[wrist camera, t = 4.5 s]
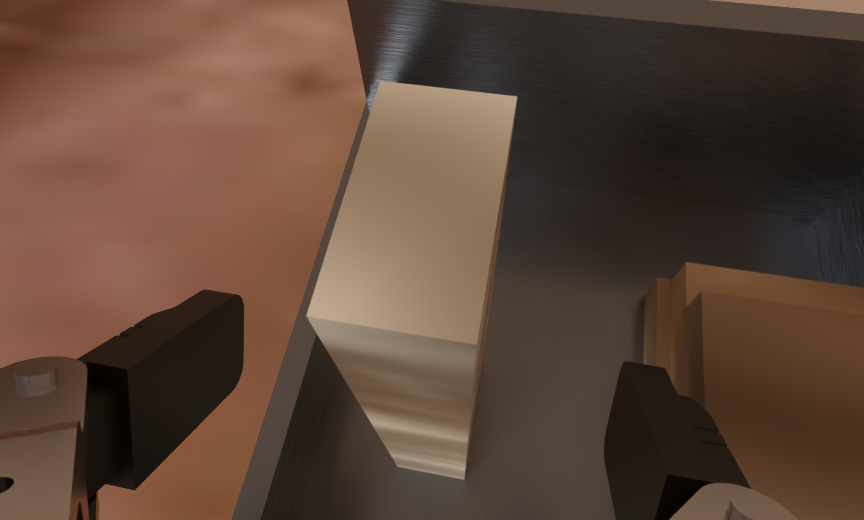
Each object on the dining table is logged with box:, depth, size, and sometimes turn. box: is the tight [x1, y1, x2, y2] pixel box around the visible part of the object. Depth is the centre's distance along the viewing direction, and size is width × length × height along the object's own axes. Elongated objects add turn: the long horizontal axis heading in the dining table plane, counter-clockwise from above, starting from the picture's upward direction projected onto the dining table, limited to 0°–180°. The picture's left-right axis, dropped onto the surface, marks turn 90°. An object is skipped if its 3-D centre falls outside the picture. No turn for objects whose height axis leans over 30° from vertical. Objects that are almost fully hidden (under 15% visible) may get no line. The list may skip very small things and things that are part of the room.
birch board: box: [306, 81, 517, 480], centre depth 15 cm, size 4×2×14 cm, turn 169°
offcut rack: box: [232, 0, 864, 520], centre depth 17 cm, size 24×20×10 cm
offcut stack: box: [643, 262, 864, 520], centre depth 18 cm, size 12×7×5 cm, turn 169°
